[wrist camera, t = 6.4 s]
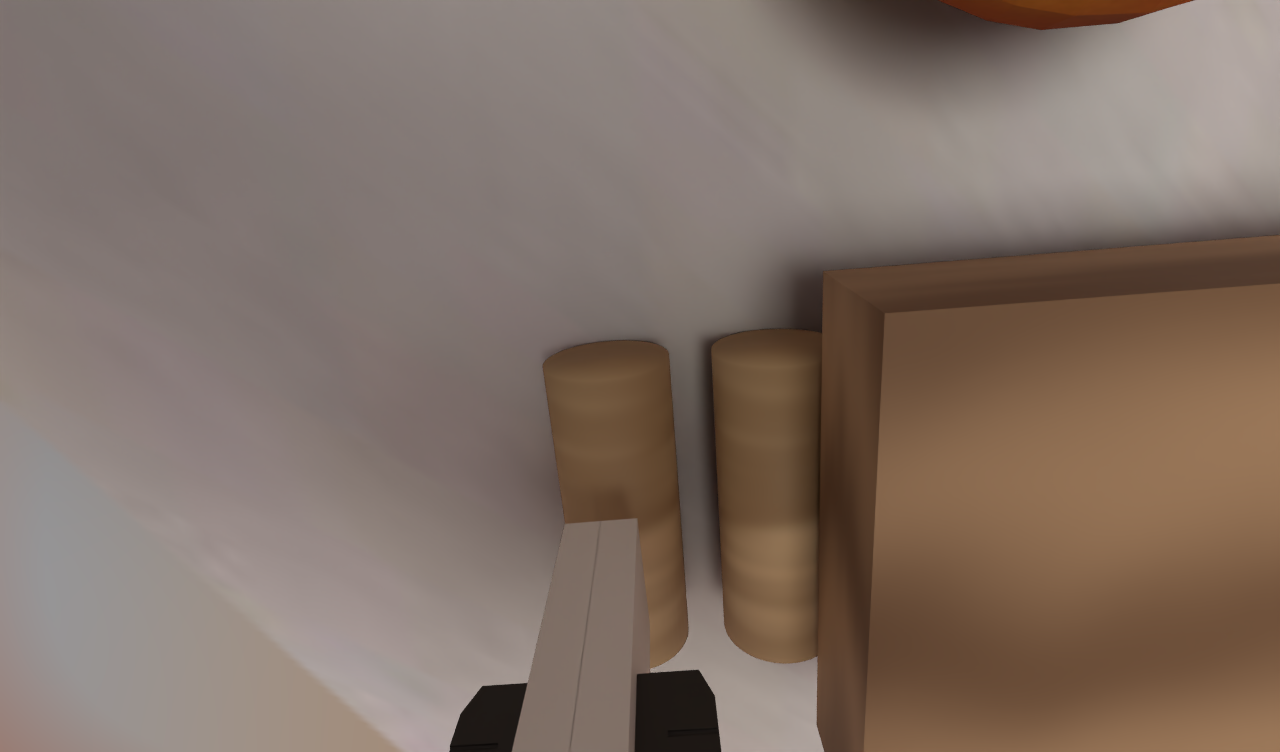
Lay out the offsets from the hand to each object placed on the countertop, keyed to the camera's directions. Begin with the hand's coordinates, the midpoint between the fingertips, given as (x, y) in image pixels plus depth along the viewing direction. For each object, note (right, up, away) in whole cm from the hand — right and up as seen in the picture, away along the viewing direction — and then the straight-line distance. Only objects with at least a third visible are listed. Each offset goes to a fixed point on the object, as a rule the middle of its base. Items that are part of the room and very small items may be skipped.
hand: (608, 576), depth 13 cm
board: (+13, +1, +1) cm, 13 cm away
